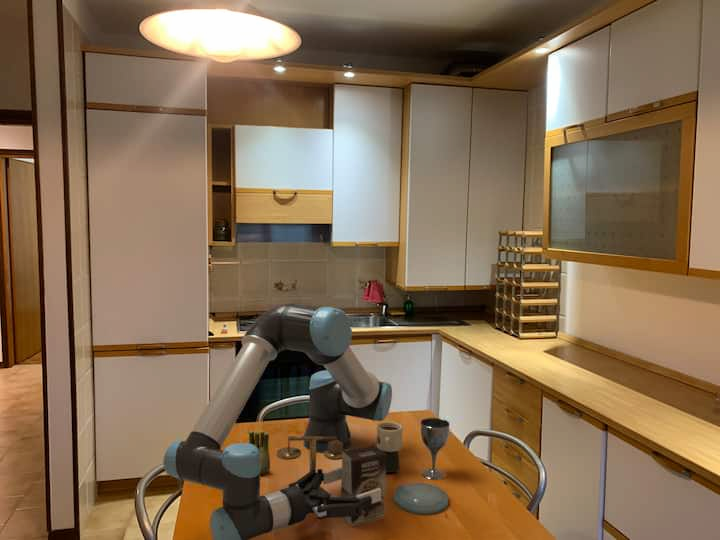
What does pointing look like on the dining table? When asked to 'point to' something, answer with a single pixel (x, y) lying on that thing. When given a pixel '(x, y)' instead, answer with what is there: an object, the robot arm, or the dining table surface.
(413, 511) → the dish
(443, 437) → the wine glass
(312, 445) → the balance
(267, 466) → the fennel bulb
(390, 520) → the dining table surface
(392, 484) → the dining table surface
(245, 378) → the robot arm
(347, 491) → the coffee box
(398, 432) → the character mug
